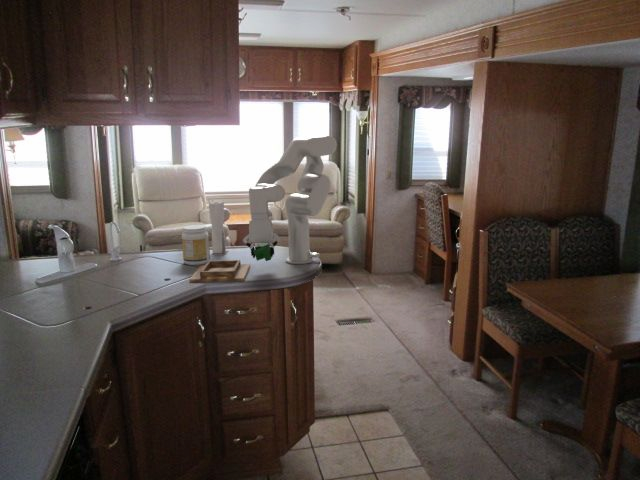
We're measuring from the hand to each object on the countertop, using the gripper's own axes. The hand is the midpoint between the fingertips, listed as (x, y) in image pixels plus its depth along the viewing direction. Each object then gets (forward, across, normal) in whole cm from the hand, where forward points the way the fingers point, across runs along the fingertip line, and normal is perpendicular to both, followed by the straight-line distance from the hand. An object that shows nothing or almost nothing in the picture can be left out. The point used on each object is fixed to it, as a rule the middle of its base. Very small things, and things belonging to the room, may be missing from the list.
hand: (262, 256), depth 211 cm
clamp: (+1, 0, 0) cm, 1 cm away
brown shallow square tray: (+6, +18, +2) cm, 19 cm away
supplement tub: (+7, +33, -19) cm, 39 cm away
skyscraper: (+8, +26, -38) cm, 47 cm away
